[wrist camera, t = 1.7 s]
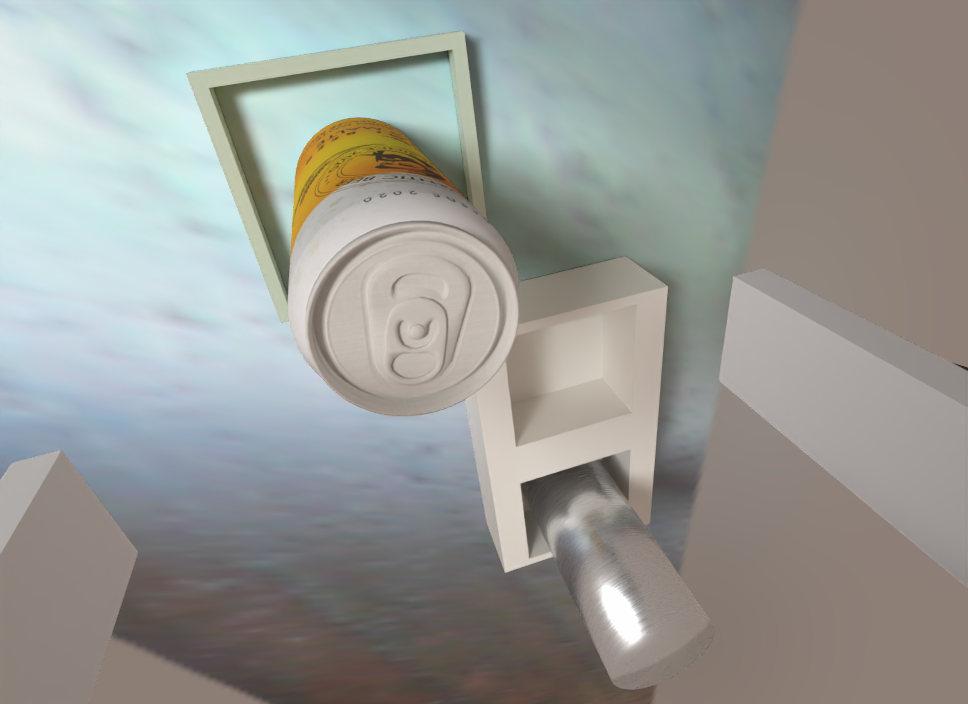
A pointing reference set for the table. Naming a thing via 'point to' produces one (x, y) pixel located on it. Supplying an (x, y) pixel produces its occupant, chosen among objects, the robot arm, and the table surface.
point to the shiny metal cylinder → (618, 577)
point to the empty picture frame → (299, 64)
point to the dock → (571, 396)
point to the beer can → (395, 275)
